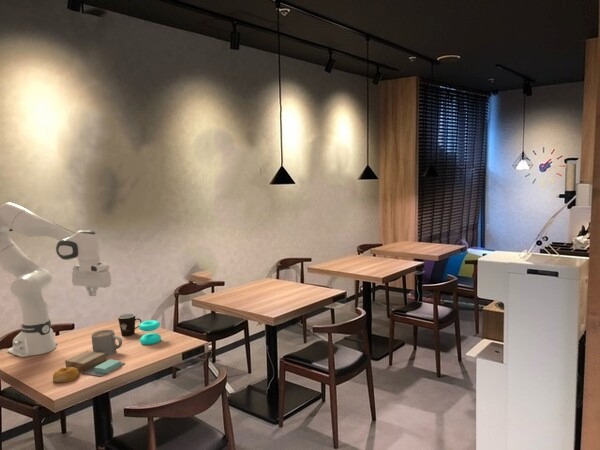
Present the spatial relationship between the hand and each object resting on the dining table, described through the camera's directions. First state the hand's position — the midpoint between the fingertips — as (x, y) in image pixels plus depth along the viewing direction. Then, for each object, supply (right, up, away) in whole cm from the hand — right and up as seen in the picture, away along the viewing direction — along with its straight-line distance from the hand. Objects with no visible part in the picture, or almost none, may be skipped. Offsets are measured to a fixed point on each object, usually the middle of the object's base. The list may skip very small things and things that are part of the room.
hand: (92, 295), depth 216 cm
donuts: (+20, -26, +21) cm, 39 cm away
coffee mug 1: (+4, -29, +8) cm, 30 cm away
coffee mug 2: (+5, -26, +33) cm, 42 cm away
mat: (+10, -30, -10) cm, 33 cm away
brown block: (0, -30, -6) cm, 31 cm away
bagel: (-3, -32, -18) cm, 37 cm away
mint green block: (+11, -28, -11) cm, 32 cm away
